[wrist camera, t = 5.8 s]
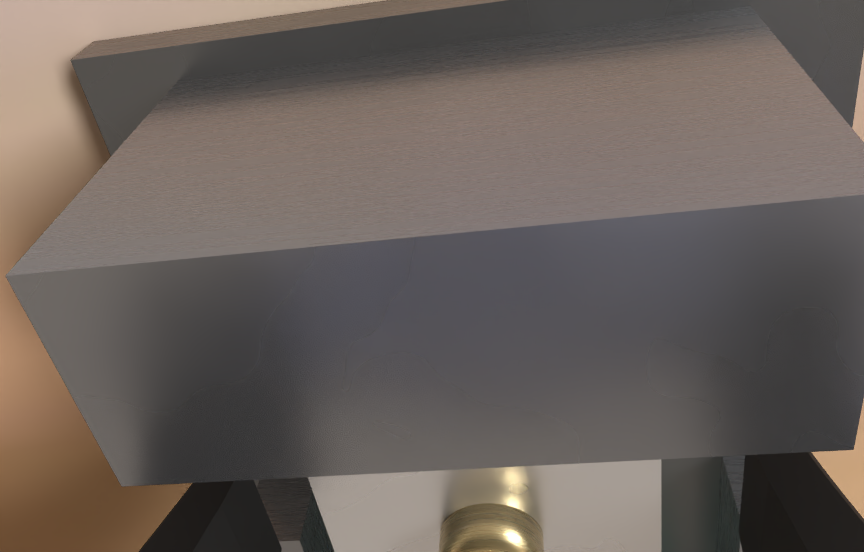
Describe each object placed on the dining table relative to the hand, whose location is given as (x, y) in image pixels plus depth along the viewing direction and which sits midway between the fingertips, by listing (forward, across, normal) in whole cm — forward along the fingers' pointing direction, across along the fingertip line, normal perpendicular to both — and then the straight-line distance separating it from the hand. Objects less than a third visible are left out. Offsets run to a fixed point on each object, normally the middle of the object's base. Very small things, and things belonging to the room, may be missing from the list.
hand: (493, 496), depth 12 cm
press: (+4, 0, +3) cm, 5 cm away
